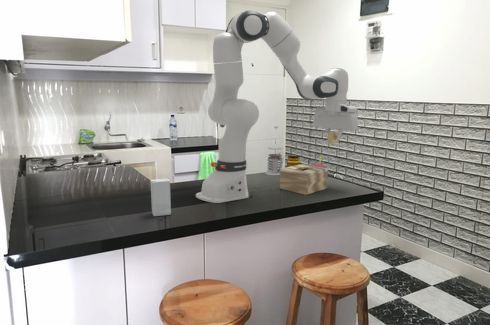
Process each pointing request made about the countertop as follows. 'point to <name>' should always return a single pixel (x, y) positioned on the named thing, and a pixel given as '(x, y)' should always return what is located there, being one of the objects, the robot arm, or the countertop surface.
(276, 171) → the french press
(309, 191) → the box
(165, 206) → the skincare box
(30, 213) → the countertop surface
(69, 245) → the countertop surface
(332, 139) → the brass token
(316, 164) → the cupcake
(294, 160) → the condiment
